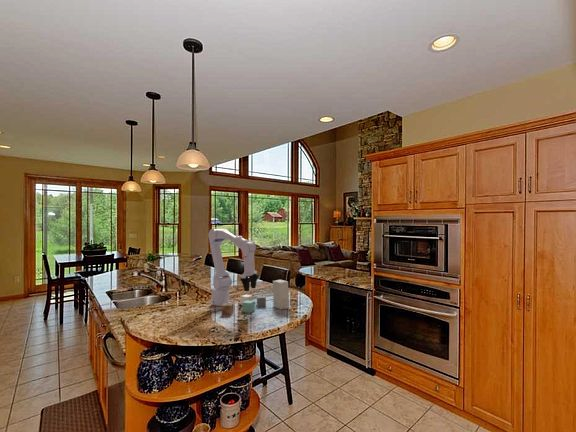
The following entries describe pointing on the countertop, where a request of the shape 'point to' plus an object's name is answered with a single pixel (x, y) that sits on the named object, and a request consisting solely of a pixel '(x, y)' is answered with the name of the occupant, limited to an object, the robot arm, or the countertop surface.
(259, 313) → the countertop surface
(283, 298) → the skincare box
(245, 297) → the offwhite cube
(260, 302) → the charcoal cube
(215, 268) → the robot arm
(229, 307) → the walnut cube
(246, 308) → the teal cube
